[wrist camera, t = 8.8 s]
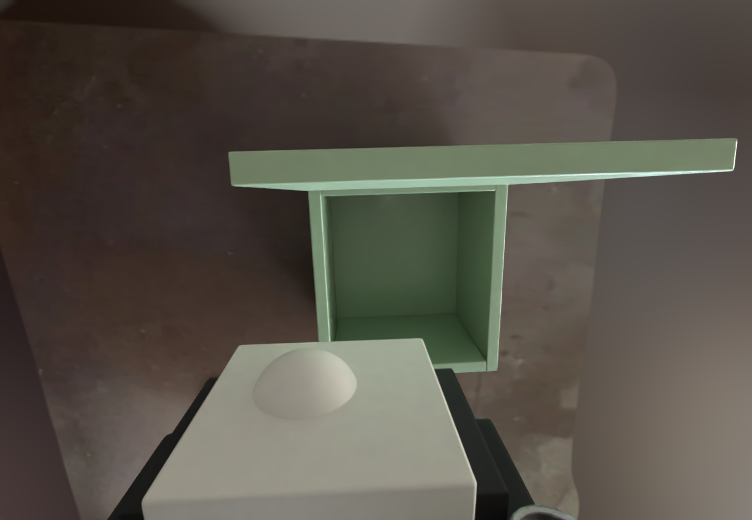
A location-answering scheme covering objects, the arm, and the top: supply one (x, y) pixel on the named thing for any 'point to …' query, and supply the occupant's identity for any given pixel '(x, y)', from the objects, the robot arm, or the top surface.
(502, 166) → the bin lid
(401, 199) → the trashcan
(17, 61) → the top surface
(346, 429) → the white cube with domes
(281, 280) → the top surface
